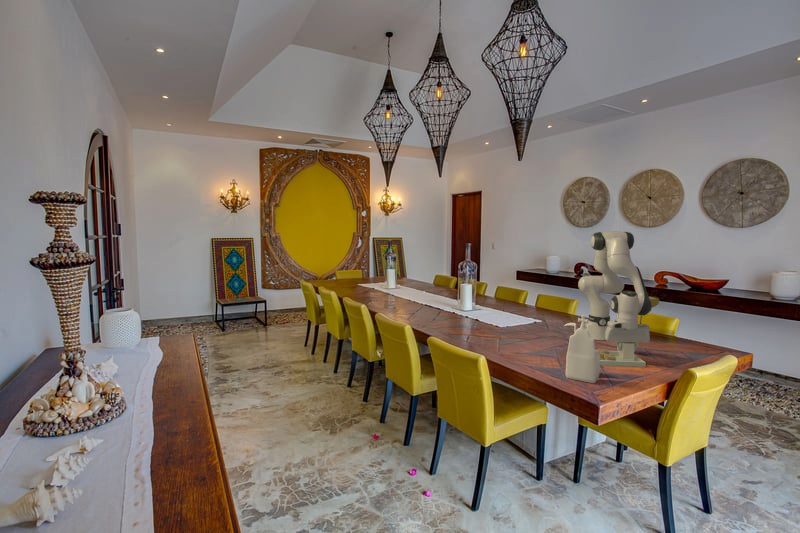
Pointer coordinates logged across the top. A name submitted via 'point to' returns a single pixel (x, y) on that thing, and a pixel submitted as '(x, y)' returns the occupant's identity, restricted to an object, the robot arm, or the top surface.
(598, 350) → the maple block
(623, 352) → the cream hollow square tube
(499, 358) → the top surface
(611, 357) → the maple block
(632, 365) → the tray
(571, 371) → the cream tall nozzled container
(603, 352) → the maple block
